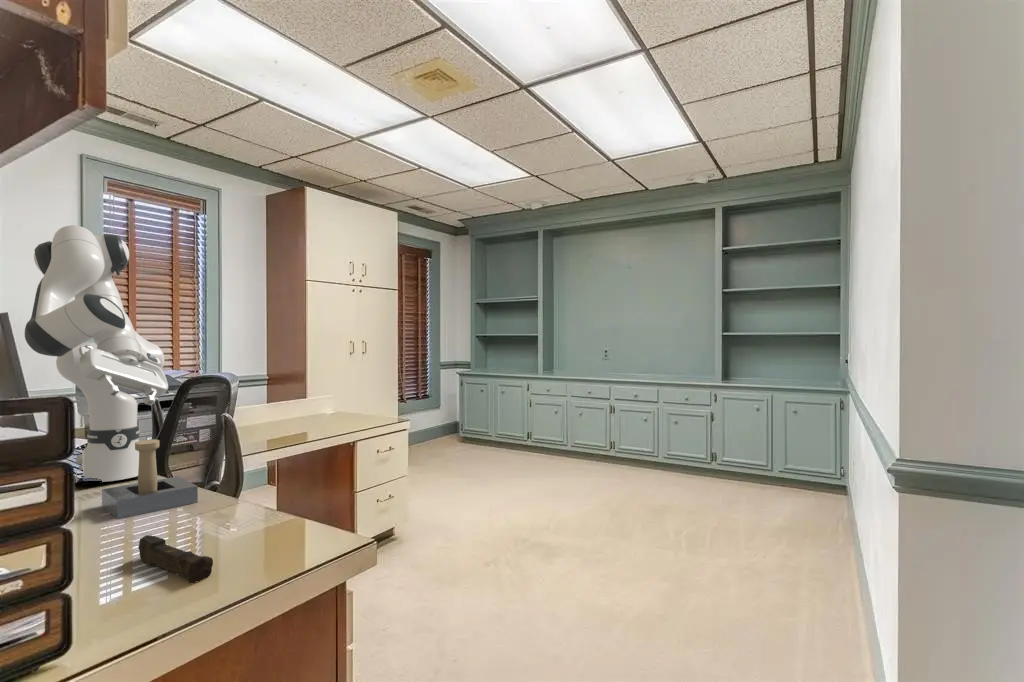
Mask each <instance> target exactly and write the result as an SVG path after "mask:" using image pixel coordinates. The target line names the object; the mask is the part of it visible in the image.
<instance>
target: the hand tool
mask: <svg viewBox="0 0 1024 682" xmlns="http://www.w3.org/2000/svg"><path fill="white" fill-rule="evenodd" d="M138 550H139V558H140V560H141V561H142V562H143V563H144V564H146V565H147V567H153V566H152V565H156V566H157V567H160V568H162V569H163V570H165V569H166V570H167V571H169V572H170V571H171V572H172V573H175V574H178V575H180V576H182V577H184V578H186V579H187V582H189V583H190V584H191V583H193V584H195V583H197V582H196V581H198V582H201V581H203V580H202V579H204V578H206V579H207V578H209V577H210V576H211V574H212V572H213V571H212V569H213V565H214V561H213V558H212V557H210V556H207V555H202V556H201V555H198V554H196V553H193V552H192V551H190V550H189V551H185V550H183V549H179V548H176V547H173V546H171V545H168V543H166V539H163V538H161V537H159V536H156V535H150V534H149V535H148V534H147V535H145V536H143V537H141V538H140V539H139V542H138ZM200 580H201V581H200ZM204 580H205V579H204Z"/></svg>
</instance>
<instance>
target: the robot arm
mask: <svg viewBox="0 0 1024 682" xmlns="http://www.w3.org/2000/svg"><path fill="white" fill-rule="evenodd" d="M33 258H34V259H33V261H34V263H35V265H36V267H37V268H38V270H39V271H40V272H41V273H42V275H43V276H42V278H41V280H40V281H39V283H38V284H37V288H36V293H35V297H34V302H33V308H32V313H31V316H30V319H29V320H28V321H27V323H26V325H25V328H24V340H25V342H26V343H27V345H28V346H29V347H30V348H31V350H33V351H34V352H36V353H38V354H40V355H42V356H43V355H44V356H49V357H56V362H55V364H56V369H57V371H58V373H59V374H60V375H61V376H62V377H63V378H64V379H66V380H67V381H69V382H71V383H72V384H74V385H75V386H76V387H77V388H78V389H80V391H81V392H82V394H83V395H84V396H85V398H86V401H87V406H88V414H89V415H88V417H89V429H87V435H86V437H87V445H86V447H85V448H84V450H83V451H82V454H79V455H77V456H76V457H75V463H76V464H75V465H78V469H79V470H83V476H85V477H91V478H98V479H101V480H102V482H101V483H104V482H114V481H121V480H125V479H126V480H128V479H131V478H136V477H138V470H139V451H137V450H135V442H137V441H140V439H139V438H140V432H141V431H140V426H139V425H138V402H137V400H136V398H135V397H134V396H133V395H131V394H129V393H126V392H124V391H120V390H119V388H122V389H126V390H129V391H133V392H137V393H141V394H144V395H145V396H146V397H144V398H143V402H144V404H145V405H148V406H152V405H154V404H155V403H156V398H159V397H161V396H163V394H164V393H166V392H167V391H168V389H169V384H168V379H167V376H166V375H165V374H166V373H165V372H164V370H163V368H164V365H165V361H166V359H165V354H164V352H163V351H162V348H161V347H160V346H158V345H157V344H155V343H152V342H151V341H148V340H147V339H145V338H144V337H142V336H141V335H140V334H139V333H138V332H137V331H136V330H135V329H134V326H133V323H132V321H131V318H130V317H129V316H128V314H127V313H126V311H125V309H124V308H125V307H124V304H123V302H122V298H121V296H120V292H119V289H118V288H117V286H116V283H115V282H114V279H113V274H114V273H116V276H117V277H118V276H120V275H121V272H123V270H125V269H126V267H127V266H128V264H129V259H130V250H129V248H128V245H127V244H126V242H125V241H124V240H123V239H122V237H120V236H119V235H117V234H104V235H95V234H94V233H93V232H92V231H90V230H89V229H88V228H86V227H83V226H81V225H74V224H73V225H66V226H63V227H61V228H59V229H57V231H56V232H55V233H54V236H53V237H52V241H50V240H49V241H45V242H42V243H39V244H37V246H36V247H35V248H34V253H33ZM73 298H74V299H73ZM71 299H73V300H71ZM70 300H71V301H70ZM91 339H93V341H90V340H91ZM89 341H90V342H89ZM76 484H77V473H76Z"/></svg>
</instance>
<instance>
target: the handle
mask: <svg viewBox="0 0 1024 682" xmlns="http://www.w3.org/2000/svg"><path fill="white" fill-rule="evenodd" d="M159 448H160V440H159V439H154V438H153V439H143V440H139V441H137V442H135V450H137V451H139V470H138V476H137V483H138V489H139V490H138V493H139V494H143V493H148V492H153V491H157V480H158V470H157V469H158V467H157V458H156V457H157V455H156V454H157V453H156V452H157V450H158V449H159Z"/></svg>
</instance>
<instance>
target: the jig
mask: <svg viewBox="0 0 1024 682" xmlns="http://www.w3.org/2000/svg"><path fill="white" fill-rule="evenodd" d="M198 488H199V487H198V485H197V484H195V483H192V482H191V481H188V480H187V479H185V478H182V477H180V476H173V477H167V478H161V479H157V491H153V492H148V493H143V494H139V493H138V490H139V489H138V482H136V483H131V484H127V485H119V486H113V487H108V488H102V489H101V506H102V508H104V509H105V510H106V511H107V512H109V513H110V514H111V515H112V517H114V518H116V520H118V519H119V520H120V519H125V518H128V517H133V516H139V515H142V514H148V513H153V512H158V511H162V510H169V509H173V508H176V507H177V508H178V507H181V506H186V505H191V504H197V503H198V500H199V499H198V497H199V496H198V491H199V489H198Z"/></svg>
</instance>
